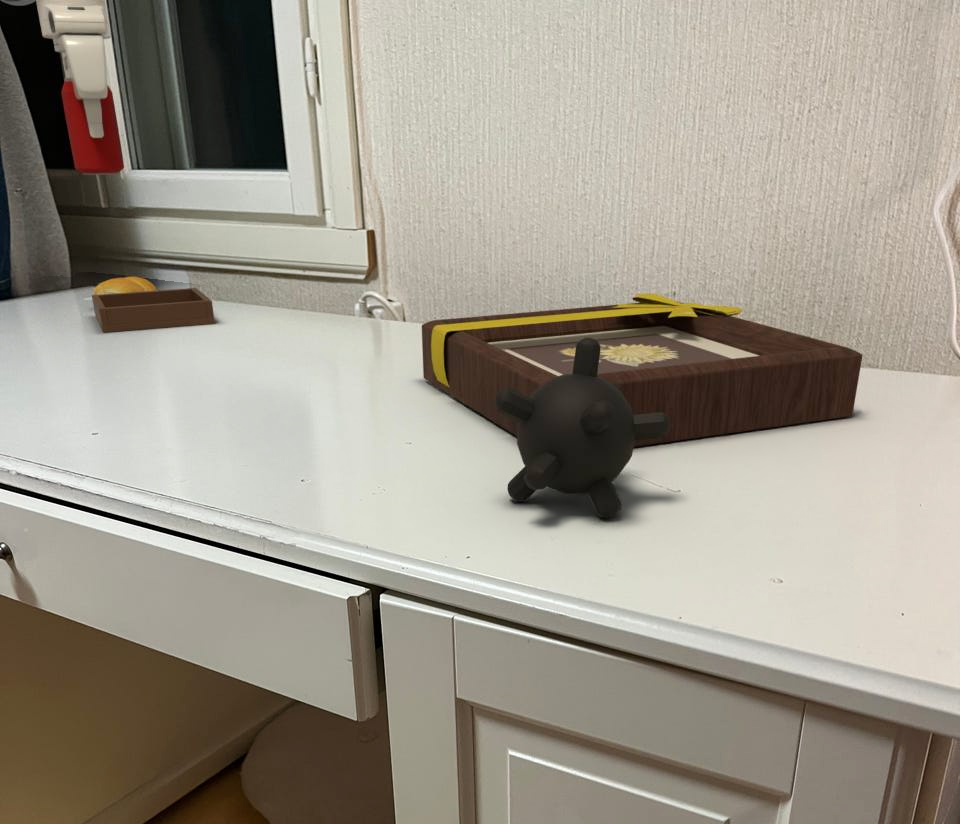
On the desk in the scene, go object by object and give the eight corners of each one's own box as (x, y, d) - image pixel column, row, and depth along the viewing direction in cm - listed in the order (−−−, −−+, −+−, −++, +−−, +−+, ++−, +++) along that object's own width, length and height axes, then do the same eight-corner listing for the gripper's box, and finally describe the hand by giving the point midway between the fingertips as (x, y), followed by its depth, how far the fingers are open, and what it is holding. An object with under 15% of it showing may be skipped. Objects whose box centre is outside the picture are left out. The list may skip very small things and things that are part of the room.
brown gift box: (415, 310, 93) (686, 288, 103) (418, 381, 96) (680, 353, 106) (546, 372, 70) (879, 336, 80) (544, 462, 73) (865, 417, 83)
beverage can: (134, 173, 144) (119, 78, 139) (110, 175, 138) (94, 76, 133) (91, 173, 145) (75, 79, 140) (66, 175, 140) (48, 77, 134)
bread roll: (169, 301, 142) (164, 272, 140) (137, 312, 135) (132, 281, 133) (117, 300, 144) (112, 271, 142) (83, 310, 136) (77, 280, 134)
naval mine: (428, 464, 63) (519, 378, 70) (544, 581, 64) (621, 485, 71) (516, 367, 54) (608, 281, 62) (647, 505, 56) (723, 404, 63)
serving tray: (103, 332, 121) (98, 309, 120) (95, 316, 131) (91, 294, 130) (215, 323, 126) (211, 300, 125) (199, 309, 136) (196, 287, 135)
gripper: (46, 29, 141) (66, 137, 147) (53, 15, 124) (76, 138, 130) (92, 30, 143) (110, 136, 149) (106, 16, 126) (125, 137, 133)
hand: (94, 137), depth 140 cm, fingers closed on beverage can, 7 cm apart
